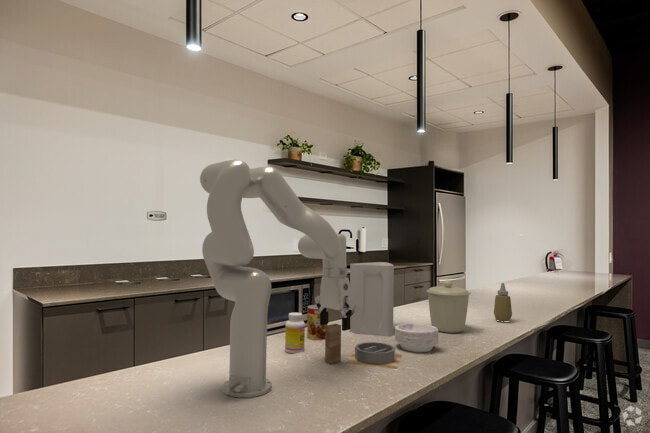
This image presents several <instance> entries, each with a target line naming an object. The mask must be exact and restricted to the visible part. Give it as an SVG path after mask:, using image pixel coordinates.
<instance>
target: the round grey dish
mask: <svg viewBox="0 0 650 433" xmlns="http://www.w3.org/2000/svg"><path fill="white" fill-rule="evenodd" d="M372 346H377V351H378V350H382V349H387V352H379V353H376V352H367V351H363V349H365V348H368V347H372ZM354 351H355V357H356V360H358V361H360V362H363V363H367V364H375V365H382V364H389V363H392V362H394V360H395V353H396V347H394V346H393V345H392V344H387V343H384V342H376V341H371V342H370V341H369V342H366V341H365V342H362V343H361V342H360V343H357V344H356V345H355V346H354Z"/></svg>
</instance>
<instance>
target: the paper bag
mask: <svg viewBox="0 0 650 433" xmlns="http://www.w3.org/2000/svg"><path fill="white" fill-rule="evenodd" d="M349 265H350V268H349V269H350V270H349V274H350V276H349V283H350V290H351V300H352V301H353V302H354V303H355V304H356V305H357V306H356V308H355V310H354V311H355V312H354V313H353V314H352V317H350V330H349V333H351V332H352V334H355V335H367V336H381V337H382V336H383V337H391V336H394V305H395V304H394V302H395V301H394V297H395V296H394V290H395V289H394V288H395V286H394V285H395V284H394V283H395V270H394V269H395V266H394V264H392V263H389V262H382V261H377V262H375V261H374V262H360V263H350V264H349Z"/></svg>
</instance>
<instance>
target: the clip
mask: <svg viewBox="0 0 650 433" xmlns="http://www.w3.org/2000/svg"><path fill="white" fill-rule="evenodd" d="M363 351H367V352H376V353H379V352H387V349H382V350H378V351H377V346H372V347H368V348H365V349H363Z"/></svg>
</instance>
